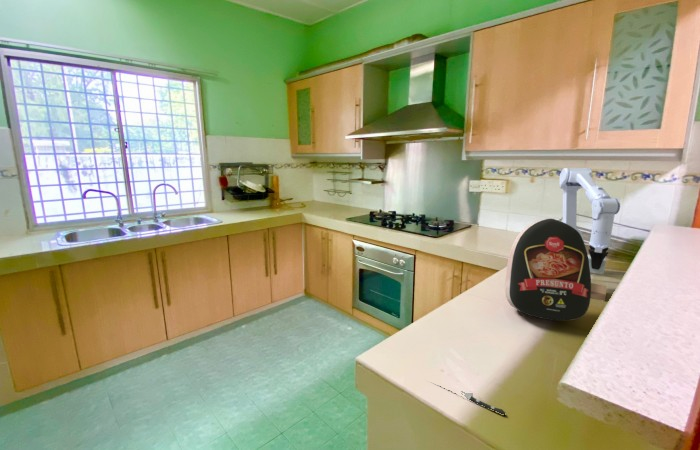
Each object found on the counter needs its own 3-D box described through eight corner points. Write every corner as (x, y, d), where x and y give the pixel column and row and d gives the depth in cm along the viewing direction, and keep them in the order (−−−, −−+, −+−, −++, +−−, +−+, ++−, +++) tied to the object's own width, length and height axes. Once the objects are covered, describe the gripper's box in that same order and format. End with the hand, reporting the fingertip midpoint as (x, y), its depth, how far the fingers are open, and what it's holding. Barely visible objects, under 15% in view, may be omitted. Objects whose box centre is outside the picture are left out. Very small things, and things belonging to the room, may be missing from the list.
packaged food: (509, 323, 94) (520, 225, 88) (497, 296, 113) (506, 213, 106) (595, 334, 88) (613, 229, 82) (568, 303, 107) (581, 216, 101)
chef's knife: (421, 371, 74) (415, 376, 72) (421, 366, 74) (415, 372, 72) (509, 410, 62) (505, 419, 60) (509, 405, 62) (505, 413, 60)
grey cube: (586, 271, 117) (588, 258, 116) (587, 268, 121) (589, 255, 120) (603, 274, 114) (605, 261, 113) (603, 270, 118) (605, 258, 117)
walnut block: (572, 295, 114) (574, 287, 114) (575, 287, 121) (576, 280, 120) (604, 302, 109) (606, 294, 108) (604, 293, 116) (606, 286, 115)
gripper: (616, 236, 107) (609, 274, 109) (615, 229, 118) (609, 264, 120) (589, 233, 111) (584, 270, 114) (591, 226, 122) (586, 260, 125)
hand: (595, 267), depth 117 cm, fingers closed on grey cube, 5 cm apart
